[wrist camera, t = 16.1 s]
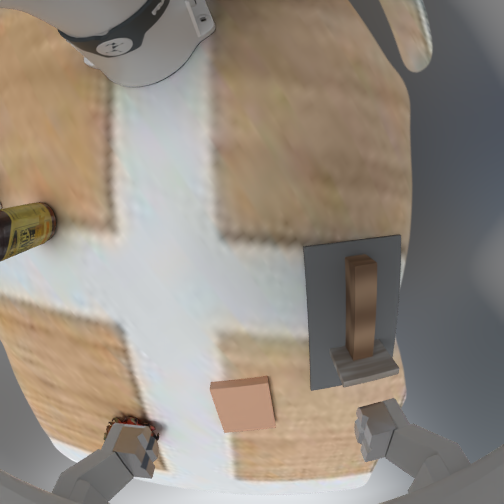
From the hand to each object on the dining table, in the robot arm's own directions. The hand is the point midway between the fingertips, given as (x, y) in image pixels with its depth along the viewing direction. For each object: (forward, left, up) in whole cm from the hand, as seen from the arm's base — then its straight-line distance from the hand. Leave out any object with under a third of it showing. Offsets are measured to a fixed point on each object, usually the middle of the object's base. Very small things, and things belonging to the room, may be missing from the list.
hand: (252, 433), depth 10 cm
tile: (+21, -4, -28) cm, 36 cm away
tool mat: (+13, +14, -29) cm, 35 cm away
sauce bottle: (-8, -30, -29) cm, 43 cm away
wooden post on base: (+10, +14, -29) cm, 33 cm away
